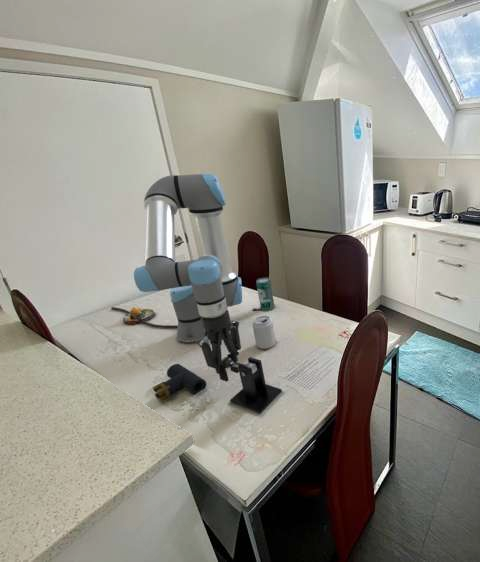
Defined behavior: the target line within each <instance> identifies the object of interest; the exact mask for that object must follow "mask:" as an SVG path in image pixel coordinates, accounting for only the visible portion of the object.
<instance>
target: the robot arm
mask: <svg viewBox="0 0 480 562" xmlns="http://www.w3.org/2000/svg"><path fill="white" fill-rule="evenodd" d="M226 205H227V201H226V198H225V195H224V192H223V189H222V186H221V184H220V181H219V179H218V177H217V175H215V174H212V173H197V174H178V175H174V174H171V175H170V174H169V175H166V176H163V177H161V178H159V179H157V180H156V181H155V182H154V183H153V184H152V185H150V187H149V188H148V190H147V191H146V194H145V195H144V200H143V208H144V210H145V212H146V213H147V214H146V235H145V236H146V237H145V256H144V257H145V258H144V259H145V260H144V264H145V265H141V266H138V267H136V268H135V269H134V270H133V279H134V283H135V286H136V288H137V289H138V290H139V291H140V292H142V293H151V292H160V291H165V290H170V291H169V296H170V301H171V303H172V306H173V309H174V313H175V315H176V319H177V325H170V324H169V325H166V324H165V325H164V324H155V323H151V322H148V321H143V320H141V321H140V322H141V323H142V324H145V325H147V326H151V327H155V328H163V329H165V328H166V329H171V328H172V329H173V328H174V329H175V328H176V329H177V331H176V337H177V340H178V342H181V343H182V344H195V343H197V346H199V347H200V348H201V351H202V354H203V357H204V359H205V363H206V366H207V367H209V368H212V369H215V372H216V374H217V375H218V377H219V379H220V380H221V381H224V382H226V383H227V382H229V377H228V371H227V368H225V364H224V363H222V359H223V357H222V345H223V344H224V345H225V347H226V349H227V352H228V354H226V357H230V358H232V360H233V362H237V363H239V362H238V361H239V359H238V356H239V354H240V352H239V351H241V349H242V344H241V338H240V332H239V325H240V323H239V322H238V321H235V320H231V316H230V311H229V310H228V308H229V307H234V306H238V305H240V304H242V302H243V287H242V277H239V276H238V275H237V273H236V272H234V271H232V270H233V269H232V264H231V261H230V260H231V259H230V255H229V250H228V247H227V242H226V237H225V233H224V228H223V223H222V218H221V214H222V212H223V211H224V206H226ZM179 209H188V212H189V214H190V215H192V216H193V217H194V219H195V221H196V222H195V223H196V225H197V230H198V233H199V238H200V242H201V246H202V250H203V255H201V256H199V257H198V258H197V259H190V260H182V261H176V233H175V232H176V230H175V229H176V227H175V215H176V214H177V213H178V210H179ZM110 309H111V310H114V311H115V310H116V311H120V312H123V313H126V314H130V311H129V310H126V309H124V308H121V307H120V308H119V307H114V306H111V307H110ZM137 320H140V318H137ZM210 345H211V346H210ZM230 372H232V373H235V374H239V369H238V368H237V367H233V366H231V367H230Z"/></svg>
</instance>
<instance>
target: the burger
mask: <svg viewBox="0 0 480 562" xmlns="http://www.w3.org/2000/svg"><path fill="white" fill-rule="evenodd" d="M129 310H130V311H129V312H130V314H128V313H126V315H125V316H124V317H123V318H122V319H123V323H124V324H128V325H133V324H134V325H136V324H141V323H142V322H140V321H141V320H143V321H145V322H148V321H149V320H150V319H152V318H153V317H155V311H154V309H150V308H143V309H142V308H141V307H139V306H135V307H134V306H133V307H132V308H131V309H129ZM137 318H140V320H137Z"/></svg>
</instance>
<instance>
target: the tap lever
mask: <svg viewBox="0 0 480 562" xmlns="http://www.w3.org/2000/svg"><path fill="white" fill-rule="evenodd" d="M222 363H224V364H225V368H226V369H229V368H230V367H231V366H233V367H237V368H238V366H239V365H243V366H246V367H249V368H251V369H252V373H254V372H256V371H257V367H256V364H255V363H250V362H247V363H242V362H241V363H240V362H233V360H232V358H230V357H228V356H224V357H222Z"/></svg>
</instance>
